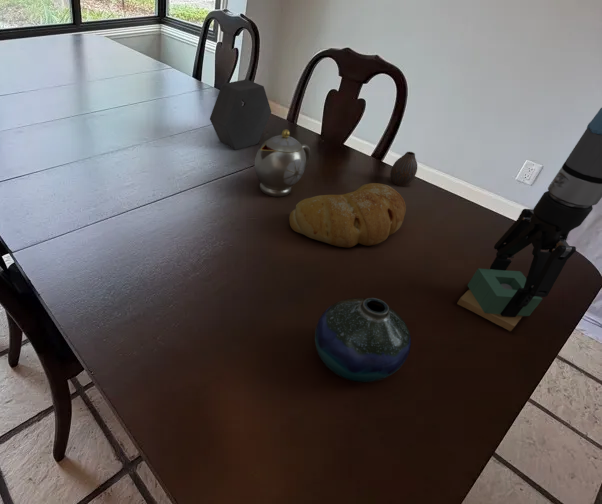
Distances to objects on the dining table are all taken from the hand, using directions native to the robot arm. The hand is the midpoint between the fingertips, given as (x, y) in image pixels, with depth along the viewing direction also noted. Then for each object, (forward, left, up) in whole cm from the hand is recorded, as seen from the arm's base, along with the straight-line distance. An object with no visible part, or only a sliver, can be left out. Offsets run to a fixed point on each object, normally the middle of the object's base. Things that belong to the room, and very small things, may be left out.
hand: (497, 299), depth 91 cm
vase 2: (+4, -56, -2) cm, 56 cm away
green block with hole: (0, 0, 0) cm, 0 cm away
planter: (+52, -77, -2) cm, 93 cm away
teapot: (+41, -46, -2) cm, 62 cm away
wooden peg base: (0, 0, -2) cm, 2 cm away
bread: (+24, -28, -2) cm, 37 cm away
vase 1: (+34, +19, -2) cm, 39 cm away
